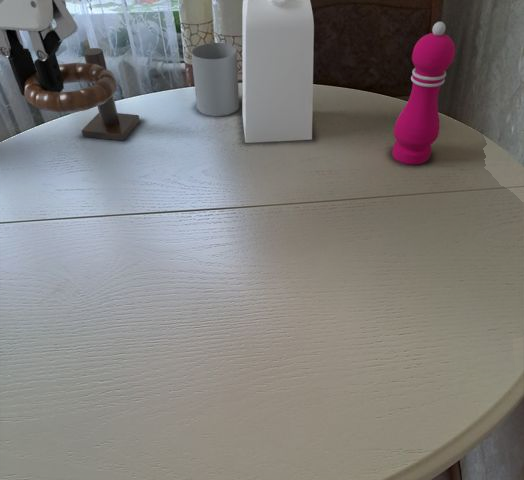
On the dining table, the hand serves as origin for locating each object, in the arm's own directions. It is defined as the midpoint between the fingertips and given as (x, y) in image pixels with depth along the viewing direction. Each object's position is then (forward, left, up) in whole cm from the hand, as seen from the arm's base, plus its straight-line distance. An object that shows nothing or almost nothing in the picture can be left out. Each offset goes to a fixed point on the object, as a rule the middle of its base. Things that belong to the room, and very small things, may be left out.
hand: (43, 91), depth 58 cm
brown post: (-10, +30, -20) cm, 38 cm away
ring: (+4, 0, +1) cm, 4 cm away
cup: (+7, +43, -20) cm, 48 cm away
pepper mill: (+45, +31, -20) cm, 58 cm away
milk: (+20, +37, -20) cm, 47 cm away
